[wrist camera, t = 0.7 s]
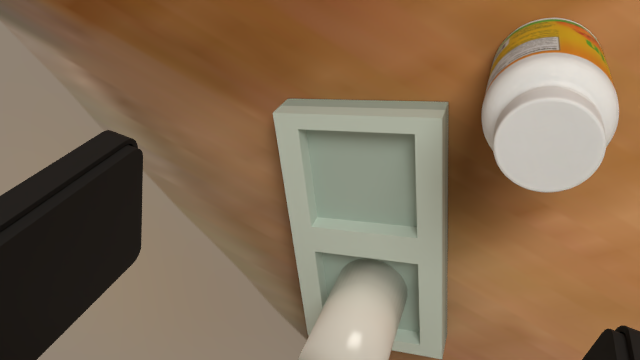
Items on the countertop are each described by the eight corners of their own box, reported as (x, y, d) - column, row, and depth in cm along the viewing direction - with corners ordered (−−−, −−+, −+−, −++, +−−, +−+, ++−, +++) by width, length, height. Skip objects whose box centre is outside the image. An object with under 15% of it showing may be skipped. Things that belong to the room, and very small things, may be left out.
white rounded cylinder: (406, 263, 36) (376, 352, 30) (408, 320, 38) (381, 413, 32) (335, 254, 38) (292, 336, 31) (341, 309, 40) (303, 396, 34)
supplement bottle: (616, 97, 28) (646, 190, 20) (511, 127, 30) (500, 221, 23) (587, -3, 26) (607, 57, 18) (478, 39, 29) (454, 107, 21)
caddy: (288, 98, 34) (272, 113, 32) (448, 101, 31) (442, 118, 29) (318, 313, 43) (307, 335, 41) (446, 334, 39) (442, 359, 38)
